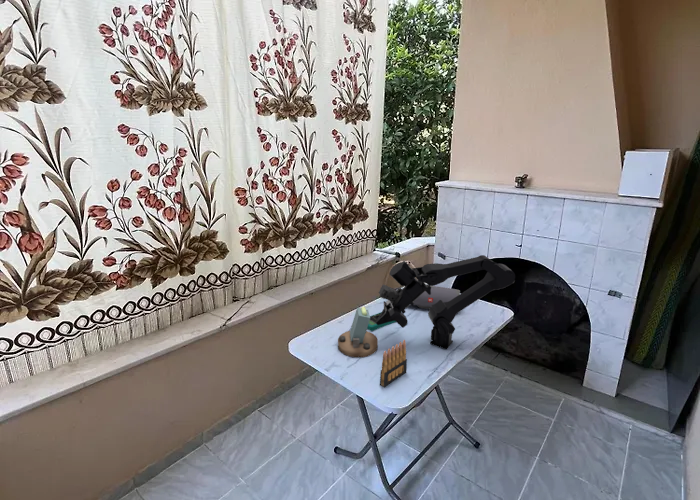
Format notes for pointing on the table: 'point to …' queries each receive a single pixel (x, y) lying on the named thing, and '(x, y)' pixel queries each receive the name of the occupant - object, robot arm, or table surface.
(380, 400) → the table surface
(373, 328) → the digital multimeter
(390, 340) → the table surface
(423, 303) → the bluetooth speaker
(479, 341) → the table surface
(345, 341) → the levelling base
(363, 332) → the post
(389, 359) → the ammunition clip
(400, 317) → the robot arm
